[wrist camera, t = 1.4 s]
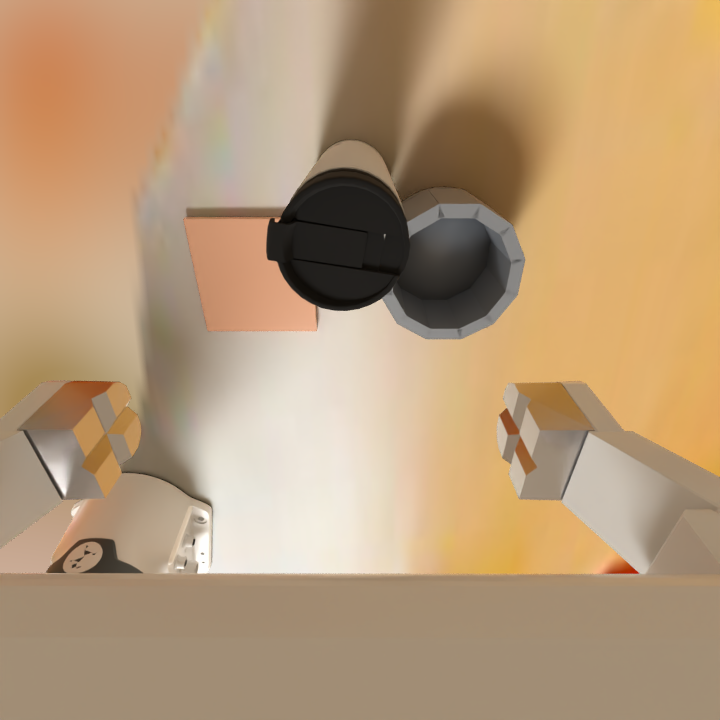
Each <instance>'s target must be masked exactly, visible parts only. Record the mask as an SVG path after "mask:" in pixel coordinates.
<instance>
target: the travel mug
mask: <svg viewBox="0 0 720 720" xmlns="http://www.w3.org/2000/svg"><path fill="white" fill-rule="evenodd" d="M409 251H410V238H409V231H408V225H407V219H406V216H405V212H404V208H403V206H402V203H401V201H400V198H399V196H398V193H397V191H396V189H395V186H394V184H393V181H392V179H391V176H390V174H389V171H388V169H387V166H386V164H385V162H384V160H383V158H382V156H381V155H380V154H379V153H378V151H377V150H376V149H374V148H373V147H372V146H371V145H369V144H367V143H365V142H362V141H359V140H343V141H340V142H337V143H335V144H333V145H332V146H330V147H329V148H328V149H327V150H326V151H325V152H324V153H323V154H322V156H321V157H320V158H319V160H318V161H317V163H316V164H315V165H314V167H313V168H312V170H311V171H310V172H309V174H308V175H307V177H306V178H305V179H304V181H303V182H302V183H301V185H300V186H299V188H298V189H297V191H296V192H295V194H294V195H293V197H292V198H291V200H290V203H289V204H288V206H287V207H286V209H285V210H284V212H283V214H282V216H281V218H280V220H279V221H278V222H275V218H271V219H270V220H269V224H268V228H267V239H266V254H267V259H268V260H270V261H276V262H277V263H278V266H279V269H280V271H281V273H282V275H283V277H284V279H285V280H286V282H287V283H288V285H289V286H290V287H291V289H292V290H294V291H295V292H296V293H297V294H298V295H299V296H300V297H301V298H303V299H305V300H306V301H308V302H309V303H311V304H313V305H316V306H318V307H321V308H325V309H330V310H335V311H348V310H354V309H360V308H363V307H366V306H368V305H371V304H373V303H375V302H376V301H378V300H380V299H382V298H383V297H384V296H385V295H386V294H388V293H389V292H390V291H391V290H392V288H393V287H394V285H395V283H396V282H397V280H398V279H399V277H400V274H401V273H402V271H403V270H404V269H405V266H406V263H407V260H408V258H409Z"/></svg>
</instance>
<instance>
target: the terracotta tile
mask: <svg viewBox="0 0 720 720" xmlns="http://www.w3.org/2000/svg"><path fill="white" fill-rule="evenodd" d="M271 218H275V222H278V221H279V220H280V218H281V217H186V218H184V219H183V220H184V225H185V229H186V234H187V239H188V243H189V248H190V252H191V257H192V261H193V266H194V271H195V275H196V280H197V284H198V289H199V294H200V298H201V303H202V307H203V312H204V316H205V321H206V326H207V330H208V331H317V315H316V305H313V304H311V303H309V302H308V301H306V300H305V299H303V298H301V297H300V296H299V295H298V294H297V293H296V292H295V291H294V290H292V289H291V287H290V286H289V285H288V283H287V282H286V280H285V279H284V277H283V275H282V273H281V271H280V269H279V266H278V263H277V262H276V261H270V260H268V259H267V254H266V239H267V228H268V224H269V220H270V219H271Z"/></svg>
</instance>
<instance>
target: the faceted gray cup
mask: <svg viewBox="0 0 720 720" xmlns="http://www.w3.org/2000/svg"><path fill="white" fill-rule="evenodd" d="M401 203H402V206H403V208H404V212H405V216H406V219H407V225H408V231H409V238H410V251H409V258H408V260H407V263H406V266H405V269H404V270H403V271H402V273H401V274H400V277H399V279H398V280H397V282H396V283H395V285H394V287H393V288H392V290H391V291H390V292H389V293H388V294H386V295H385V296H384V297H383V298H382V299H383V301H384V303H385V304H386V306H387V308H388V309H389V311H390V313H391V314H392V316H393V318H394V319H395V321H396V323H397V324H399V325H400V326H402V327H404V328H406V329H408V330H410V331H412V332H414V333H415V334H417V335H419V336H421V337H423V338H425V339H462V338H464V337H467V336H469V335H471V334H473V333H475V332H477V331H479V330H481V329H484V328H486V327H488V326H490V325H492V324H493V323H495V322H496V320H497V319H498V318H499V317H500V316H501V314H502V313H503V312H504V311H505V310H506V308H507V307H508V306H509V305H510V304H511V302H512V301H513V300H514V299H515V298H516V296H517V295H518V291H519V286H520V282H521V277H522V272H523V268H524V263H525V257H524V254H523V252H522V249H521V246H520V244H519V241H518V238H517V236H516V233H515V230H514V228H513V225H512V224H511V223H509V222H508V221H507V220H506V219H504V218H503V217H502V216H501V215H499V214H498V213H497V212H496V211H494V210H493V209H492V208H491V207H489V206H488V205H486V204H485V203H483V202H482V201H480V200H479V199H477V198H476V197H475V196H473V195H472V194H470V193H468V192H467V191H465V190H464V189H457V188H452V187H434V188H429V189H425V190H422V191H420V192H417V193H415V194H413V195H411V196H410V197H408V198H407V199H405V200H404V201H402V202H401Z"/></svg>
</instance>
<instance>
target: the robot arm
mask: <svg viewBox="0 0 720 720" xmlns="http://www.w3.org/2000/svg"><path fill="white" fill-rule="evenodd" d="M130 400H131V396H130V394H129V391H128V389H127V386H126V385H124V384H122V383H121V382H104V381H47V382H43V383H41V384H40V385H39V386H37V387H36V388H35V389H34V390H33V391H32V392H31V393H29V394H28V395H27V396H26V397H25V398H24V399H23V400H22V401H20V402H19V403H18V404H17V405H16V406H15V407H13V408H12V409H11V410H10V411H9V412H7V413H6V414H5V415H4V416H3V417H2V418H1V419H0V549H1V548H2V547H3V546H5V545H6V544H7V543H9V542H10V541H11V540H13V539H14V538H15V537H17V536H18V535H19V534H21V533H22V532H23V531H24V530H26V529H27V528H29V527H30V526H31V525H32V524H34V523H35V522H37V521H38V520H39V519H41V518H42V517H43V516H44V515H46V514H47V513H49V512H50V511H51V510H53V509H54V508H55V507H56V506H58V505H59V504H60V503H62V502H63V501H62V500H70V499H82V500H81V501H79V502H77V503H76V504H75V505H74V507H73V509H72V510H71V515H72V516H73V519H72V521H71V523H70V524H69V526H68V528H67V530H66V532H65V533H64V535H63V537H62V539H61V541H60V542H59V544H58V546H57V548H56V550H55V552H54V553H53V555H52V557H51V566H50V567H49V568H48V570H47V571H46V573H0V720H720V477H718V476H716V475H715V474H713V473H711V472H709V471H707V470H705V469H703V468H701V467H699V466H697V465H696V464H694V463H692V462H690V461H688V460H686V459H684V458H682V457H680V456H678V455H676V454H675V453H673V452H671V451H669V450H667V449H665V448H663V447H661V446H659V445H657V444H656V443H654V442H652V441H650V440H648V439H646V438H644V437H642V436H640V435H638V434H636V433H635V432H633V431H624V430H623V429H622V428H621V426H620V425H619V424H618V423H617V421H616V420H615V419H614V418H613V416H612V415H611V414H610V413H609V411H608V410H607V409H606V408H605V406H604V405H603V404H602V403H601V402H600V400H599V399H598V398H597V397H596V395H595V394H594V393H593V392H592V390H591V389H590V388H589V387H588V385H587V384H585V383H583V382H581V381H568V382H547V383H508V385H507V387H506V389H505V392H504V396H503V400H504V402H505V404H506V406H507V408H506V409H505V410H504V411H503V412H502V413H501V414H500V415H499V419H498V424H497V442H498V446H499V450H500V453H501V455H502V458H503V459H505V460H506V461H507V462H509V463H510V464H511V467H510V471H509V476H510V478H511V481H512V483H513V485H514V488H515V490H516V493H517V495H518V498H519V499H530V500H562V503H563V504H564V505H565V506H566V507H567V508H568V509H569V510H570V511H571V512H573V513H574V514H575V515H576V516H577V517H578V518H579V519H580V520H581V521H583V522H584V523H585V524H586V525H587V526H588V527H589V528H590V529H591V530H592V531H594V532H595V533H596V534H597V535H598V536H599V537H600V538H601V539H602V540H604V541H605V542H606V543H607V544H608V545H609V546H610V547H611V548H612V549H613V550H615V551H616V552H617V553H618V554H619V555H620V556H621V557H622V558H623V559H625V560H626V561H627V562H628V563H629V564H630V565H631V566H632V567H633V568H634V569H636V570H637V571H638V572H639V573H640V574H223V573H206V572H208V571H209V569H210V567H211V552H212V508H211V507H210V506H209V505H207V504H206V503H203V502H201V501H198V500H196V499H193V498H191V497H189V496H188V495H186V494H185V493H183V492H182V491H181V490H179V489H178V488H177V487H175V486H173V485H171V484H170V483H168V482H166V481H163V480H161V479H158V478H155V477H152V476H148V475H143V474H135V473H122V472H121V468H120V465H121V464H122V463H124V462H125V461H127V460H129V459H130V458H132V457H133V455H134V453H135V452H136V450H137V448H138V446H139V442H140V438H141V424H140V421H139V418H138V415H137V414H136V413H135V412H134V411H132V410H131V409H130V408H129V407H128V404H129V402H130Z"/></svg>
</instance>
